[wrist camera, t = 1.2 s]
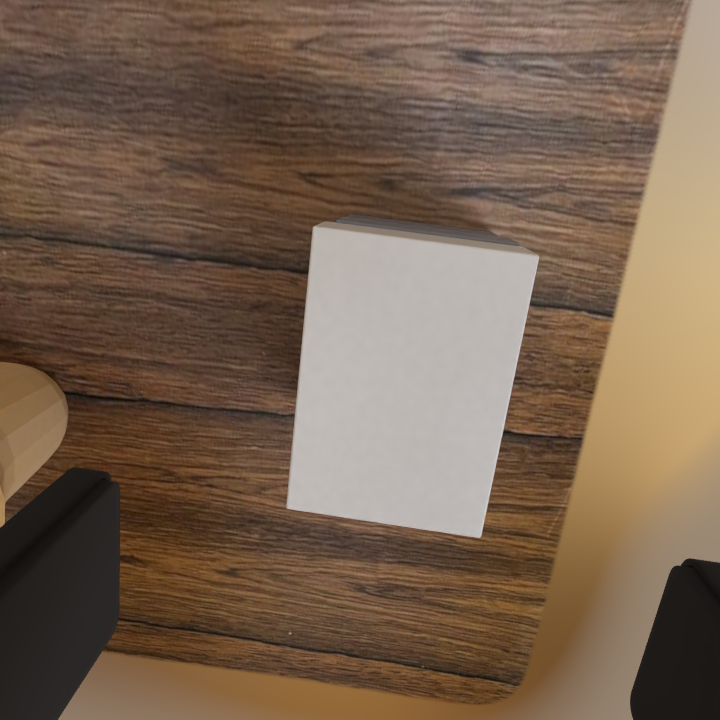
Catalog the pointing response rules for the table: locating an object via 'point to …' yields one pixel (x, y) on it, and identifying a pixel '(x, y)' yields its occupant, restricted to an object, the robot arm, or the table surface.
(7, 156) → the table surface
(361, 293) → the off-white flat block
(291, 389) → the table surface
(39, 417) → the ice cream cone
